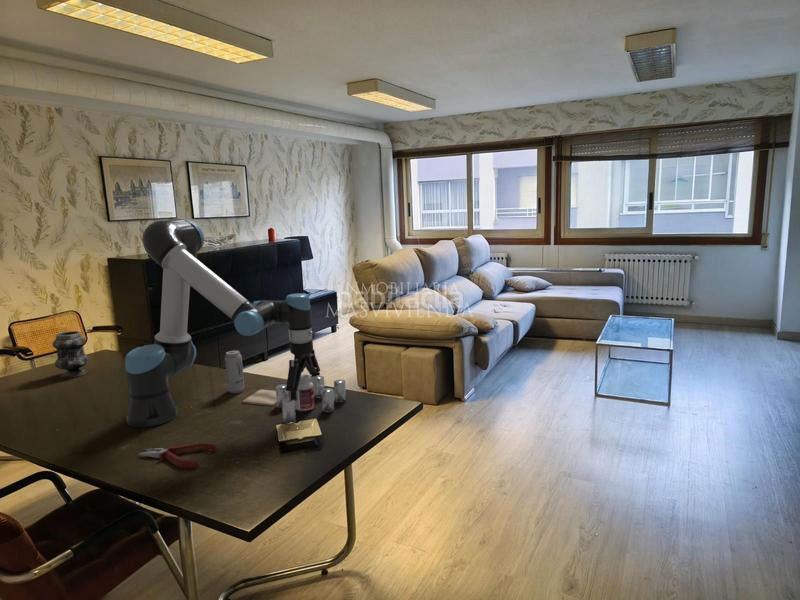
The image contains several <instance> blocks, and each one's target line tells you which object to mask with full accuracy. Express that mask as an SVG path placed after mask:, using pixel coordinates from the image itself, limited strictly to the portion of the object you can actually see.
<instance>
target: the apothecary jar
mask: <svg viewBox="0 0 800 600" xmlns="http://www.w3.org/2000/svg"><path fill="white" fill-rule="evenodd" d="M55 336H56V337H55V339H54V340H53V341H52V344H51V345H52V347H53V348H54V349H56V355H57V359H56V360H55V361H54V366H55V367H56V368H57V369H59V370H63V371H64V370H65V371H64V372H63V373H61V374H60V376H59V378H61V379H74V378H77V376H78V377H81V375H82V376H84V375H86V374H87V373H88V370H87V369H83V368H82V367H84V366H86V365H87V364H88V363H89V360H90V359H89V356H87V354H85V348H84V345H85V343H87V340H86V338H85V337H84V336H83V335H82V334H81V332H80V331H79V330H71V331H70V330H69V331H62V332H58V333H56V335H55Z"/></svg>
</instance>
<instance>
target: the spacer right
mask: <svg viewBox="0 0 800 600" xmlns="http://www.w3.org/2000/svg"><path fill="white" fill-rule="evenodd" d="M321 393H322V398H321V406H322V408H321V410H322V411H323V410H324V411H331V410H334V409H335V397H334V388H330V387H329V388H328V387H327V388H325V389H323V390H321ZM334 411H335V410H334Z"/></svg>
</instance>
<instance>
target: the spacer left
mask: <svg viewBox="0 0 800 600" xmlns="http://www.w3.org/2000/svg"><path fill="white" fill-rule="evenodd" d="M286 385H287V384H278V385H276V386H275V391H276V398H277V403H276V408H277V409H282V400H284V399H287V398H289V394H288V392H289V391H286Z"/></svg>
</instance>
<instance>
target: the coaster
mask: <svg viewBox="0 0 800 600" xmlns="http://www.w3.org/2000/svg"><path fill="white" fill-rule="evenodd" d="M289 394H290V391H288V395H289ZM241 404H246V405H247V404H248V405H259V406H268V407H274V405H277V398H276V390H270V389H259V390H257V391H256V392H254V393H252V394H251V395H250V396H248V397H246V398H245V399H243V400H242V401H241Z"/></svg>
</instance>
